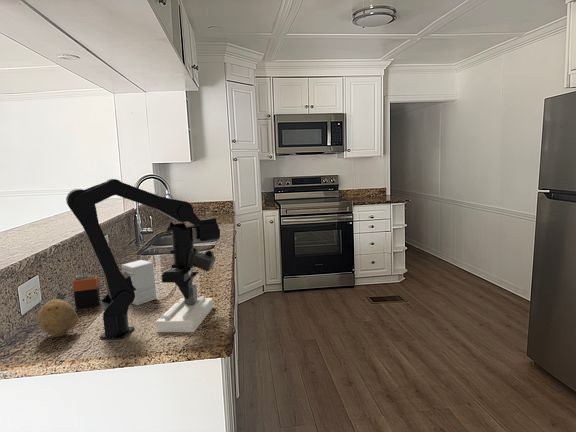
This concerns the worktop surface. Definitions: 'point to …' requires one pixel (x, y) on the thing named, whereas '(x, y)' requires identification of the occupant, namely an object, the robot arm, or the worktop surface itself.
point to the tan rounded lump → (57, 317)
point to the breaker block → (184, 316)
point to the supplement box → (141, 280)
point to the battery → (86, 291)
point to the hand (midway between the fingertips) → (187, 298)
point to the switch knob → (192, 295)
